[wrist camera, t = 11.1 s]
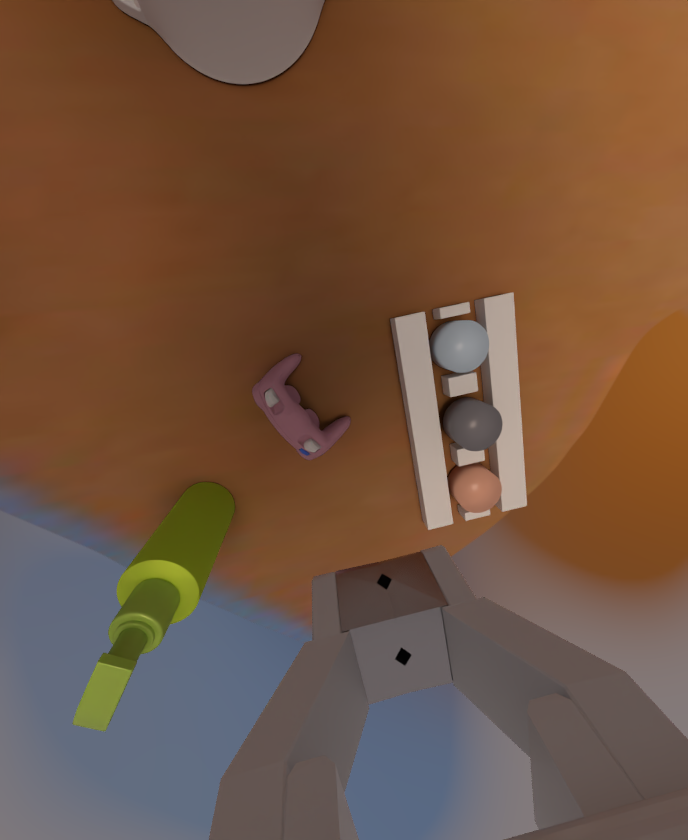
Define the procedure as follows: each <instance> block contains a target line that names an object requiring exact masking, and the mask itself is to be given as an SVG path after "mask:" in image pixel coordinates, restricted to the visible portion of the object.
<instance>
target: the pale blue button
mask: <svg viewBox="0 0 688 840" xmlns="http://www.w3.org/2000/svg"><path fill="white" fill-rule="evenodd" d="M429 347H430V355H431V358H432V360H433V361H434V363H435V364H437V365H438V366H439V367H441V368H444V369H447V370H451V371H454V372H458V373H466V372H470V371H472V370H474V369H476V368H477V367H479V366H480V365H481V364H482V362H483V361H484V360H485V358H486V356H487V354H488V350H489V338H488V334H487V332H486V330H485V329H484V328H483V327H482V326H481V325H480V324H479V323H477V322H475V321H471V320H459V321H448V322H445V323H443V324H441V325H440V326H439V327H438V328H437V329H436V330H435V331H434V332H433V334H432V336H431V338H430V341H429Z"/></svg>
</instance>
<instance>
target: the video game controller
mask: <svg viewBox="0 0 688 840" xmlns="http://www.w3.org/2000/svg"><path fill="white" fill-rule="evenodd" d="M300 361H301V355H300V354H292V355H290V356H288V357H286V358H285V359H283V360H281V361H280V362H279V363H278V364H276V365H275V366H273V367H272V368H271V369H270V370H269V371H268V372H267V374H266V375H265V376H264V377H263V378H262V379H261V380H260V381H259V382H258V383H257V384H255V385H254V387H253V389H252V393H253V397H254V400H255V402H256V404H257V405H258V406H259V407H260V408H261V409H262V410H263V411H264V413H265V414H266V416H267V417H268V419H269V420H270V422H271V423H272V425H273V426H274V427H275V428H276V430H277V431H278V432H279V433H280V434H281V435H282V436H283V438H284V439H285V440H286V441H288V442H289V443H290V444H291V445H292V446H293V447H294V448H296V450H297V452H298V453H299V454H300V455H301V456H302V457H303V458H305V459H307V460H312V459H314V458H317V457H319V456H321V455H323V454H324V453H325V452H326V451H328V450H329V449H330V448H331V447H332V446H333V445H334V444H335V443H336V441H337V440H338V439H339V438H340V437H341V436H342V435H343V434H344V432H345V431H346V430H347V429H348V427H349V425H350V422H351V419H350V417H348V416H345V417H342V418H340V419H338V420H336V421H334V422H333V423H331V424H330V425H328V426H327V427H326V428H325V429H323V430H322V431H321V430H320V429H319V419H318V417H317V415H316V414H315V412H314V411H312V410H311V409H306V410H304V409H303V408H302V407H301V406H300V405H299V403H300V396H299V393H298V392H297V390H296V389H295V388H294V387H292V386H290V385H286V386H285V385H284V384H285V381H286V379H287V378H288V376H289V375H290V374H291V373H292V372H293V371H294V369H295V368H296V367H297V366H298V365H299V363H300Z"/></svg>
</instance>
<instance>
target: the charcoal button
mask: <svg viewBox="0 0 688 840" xmlns="http://www.w3.org/2000/svg"><path fill="white" fill-rule="evenodd" d="M443 428H444V431H445V432H446V434H447V435H448V436H449V437H450V438H451V439H452V440H454V441H455V442H456V443H458V444H459V445H460V446H461V447H463V448H464V449H466V450H469V451H482V450H485V449H487V448H489V447H490V446H492V445H493V444H494V443H495V442H496V441H497V439H498V438H499V436H500V434H501V431H502V417H501V415H500V413H499V411H498V410H497V409H496V408H495V407H493V406H491V405H489V404H487V403H484V402H482V401H480V400H477V399H475V398H471V397H465V398H461V399H458V400H456V401H454V402H453V403H452V404H451V405H450V406H449V407H448V408H447V410H446V412H445V414H444V417H443Z"/></svg>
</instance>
